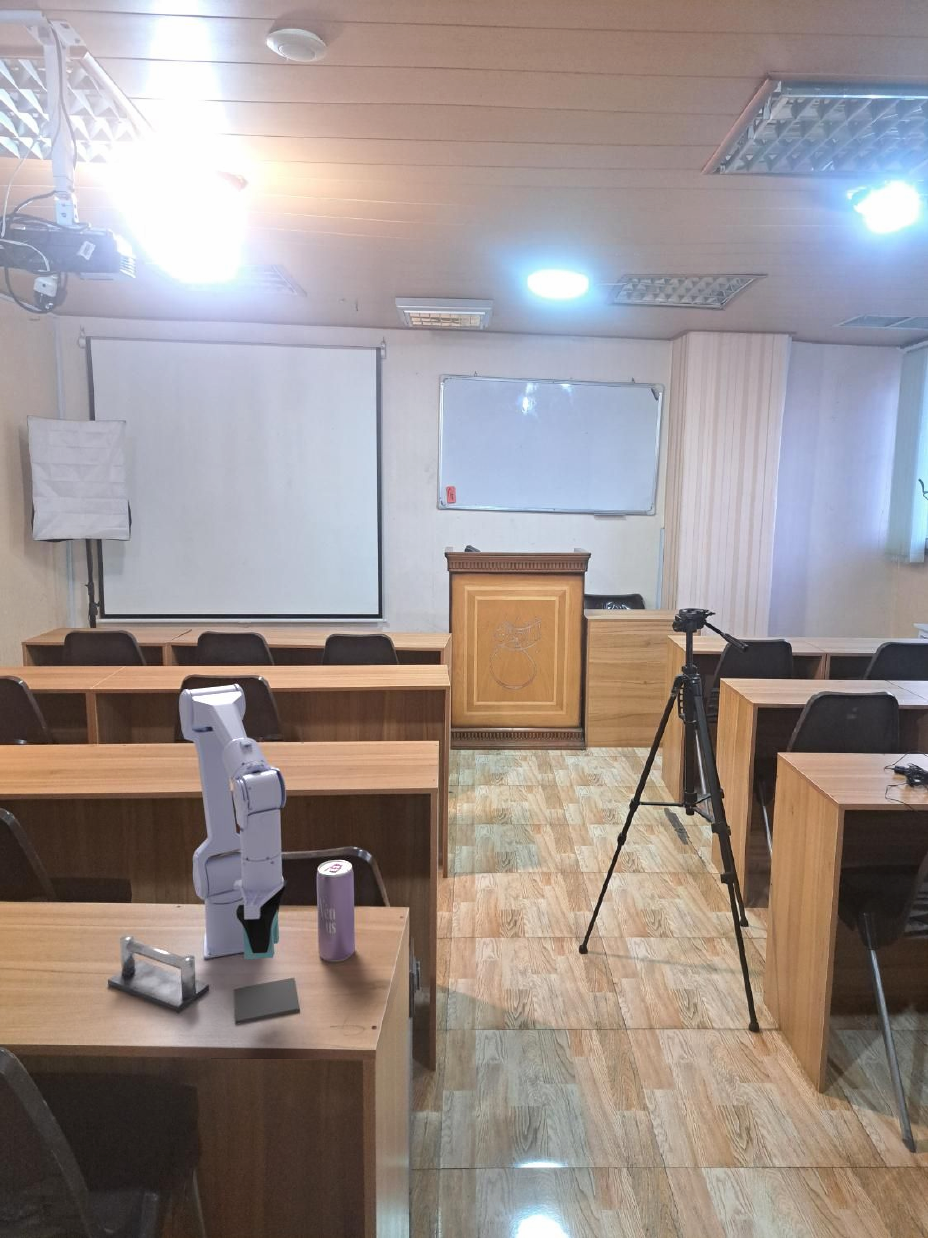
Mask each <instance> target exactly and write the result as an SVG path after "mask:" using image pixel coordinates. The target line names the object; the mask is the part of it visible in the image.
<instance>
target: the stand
mask: <svg viewBox="0 0 928 1238" xmlns="http://www.w3.org/2000/svg"><path fill="white" fill-rule="evenodd" d="M119 943H120V944H119V947H120V960H121V961H120V962H121V963H120V964H121V971H120V972H118V973H116V974H115V975H113V976H112V977H110V978H109V979H107V986H108V987H110V988H113V989H115V990H118V991H120V992H123V993H126V994H128V995H130V996H134V997H136V998H138V999H140V1000H141V999H142V1000H143V1001H146V1002H149V1003H150V1004H151V1003H152V1004H154V1005H156V1006H159V1007H162V1008H164V1009H167V1010H168V1011H169V1010H170V1011H172V1012H174V1013H177V1014H179V1013H181V1012H182V1011H183V1010H185V1009H187V1007H189V1006H190V1005H192V1004H193V1003H194V1002H196V1001H197V1000H199V999H200V998H202V997H203V996H204V995H206V993H208V992H210V984H209V983H207V982H202V981H200V980H198V979H197V978H196V962H195V959H196V957H195V955H192V954H188V955H185V956H181V955H178V954H175V953H173V952H169V951H167V950H163V949H160V948H157V947H154V946H153V945H149V944H146V943H143V942H141V941H137V940H135V936H134V935H133V934H126V935H124V936H122V937H120V938H119ZM136 954H137V955H140V956H142V957H145V958H147V959H150V960H154V961H157V962H159V963H162V964H164V965H168V966H171V967H173V968H176V969H179V970H180V973H178V972H176V971H172V970H169V969H167V968H164V967H161V966H157V965H155V964H153V963H150V962H147V961H144V960H141V959H140V960H138V961H137V962H136Z"/></svg>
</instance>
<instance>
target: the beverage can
mask: <svg viewBox="0 0 928 1238" xmlns="http://www.w3.org/2000/svg"><path fill="white" fill-rule="evenodd" d="M354 880H355V879H354V870H353V865H352V863H351V862H349V861H346V860H342V859H335V860H328V861H325V862H323V863H320V864H319V866H318V867H317V872H316V899H317V900H316V901H317V905H316V906H317V908H316V909H317V936H318V937H317V941H318V942H317V943H318V947H317V948H318V954H319V956H320V957H321V958H322V959H323V961H325V962H328V963H329V962H330V963H339V962H343V961H346V960H348V959H349V958H350V957H352V955H353V954H354V952H355V949H356V941H355V940H356V939H355V938H356V936H355V934H356V932H355V927H356V926H355V887H354V886H355V883H354V882H355V881H354Z"/></svg>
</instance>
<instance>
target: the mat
mask: <svg viewBox="0 0 928 1238" xmlns="http://www.w3.org/2000/svg"><path fill="white" fill-rule="evenodd" d="M295 979H296V978H295V977H291V978H285V979H280V980H274V981H268V982H264V983H262V982H261V983H258V984H253V985H246V986H241V987H236V988H234V989H233V997H234V998H233V1000H234V1021H235V1022H234V1023H235V1025H238V1024H239V1025H240V1024H243V1023H244V1024H245V1023H249V1022H253V1021H259V1020H262V1019H267V1018H268V1019H269V1018H274V1017H278V1016H282V1015H289V1014H293V1013H298V1012H300V1009H301V1008H300V1004H299V1003H300V1002H299V998H298V991H297V985H296V980H295Z"/></svg>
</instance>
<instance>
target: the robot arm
mask: <svg viewBox="0 0 928 1238" xmlns="http://www.w3.org/2000/svg"><path fill="white" fill-rule="evenodd" d="M178 702H179V703H178V704H179V705H178V710H179V717H180V719H179V720H180V724H181V725H180V726H181V733H182V734H183V738H184V740H187V741H190V742H193V744H194V747H195V750H196V754H197V755H196V756H197V761H198V770H199V777H200V786H201V793H202V794H201V795H202V800H203V808H204V810H203V811H204V818H205V825H206V833H207V838H206V839H205V840H204V841H203V842H202V843H201V844H200V845H199V847H197V849H195V851H194V853H193V855H192V865H193V867H192V879H193V887H194V890H195V894H196V895H197V897H198V898H200V899H201V900H204V912H205V913H204V914H205V915H204V916H205V933H204V935H203V937H204V938H203V939H204V940H203V958H204V959H212V958H217V957H218V958H219V957H223V956H224V957H225V956H230V955H235V954H240V953H244V937H243V927H244V929H245V931H246V933H247V936H248V940H249V943H250V947H251V950H252V952H253V953H267V951H268V947H269V943H270V935H271V927H272V922H273V918H274V916H275V914H276V912H277V909H278V913H279V910H280V905H281V901H282V897H283V895H284V892H285V890H286V888H287V886H288V881H287V880H286V879H284V877H283V867H282V866H283V865H282V864H283V863H282V861H283V860H282V859H283V858H282V857H283V856H282V835H281V834H282V831H281V830H282V829H281V827H282V826H281V809H282V808H284V807H285V805H286V802H287V789H286V782H285V779H284V776H283V774H282V771H281V770H280V769H279V768H278V767H275V766H274V765H269V763H268V761H267V759H266V757H265V755H264V753H263V751H262V749H261V747H260V745H259V743H258V742H257V741H256V740H255V739H253V738H251V737H248V736H247V733H246V730H245V728H244V724H243V721H242V720H244V715H245V713H246V708H247V707H246V697H245V693H244V690H243V688H242V687H241V686H240V685H239V684H238V683H233V684H231V685H221V686H213V687H205V688H204V687H203V688H194V689H188V688H187V689H183V690H182V692H181V693H180V695H179V701H178ZM231 783H232V789H231ZM233 804H234V805H233ZM280 808H281V809H280ZM234 810H235V811H234ZM236 823H237V825H238V826H239V833H238V832H237V826H236ZM236 850H239V851H237V852H233V851H236ZM229 852H232V853H229ZM224 853H228V854H224ZM220 854H223V855H220ZM215 855H219V856H215ZM213 856H215V857H213Z"/></svg>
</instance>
